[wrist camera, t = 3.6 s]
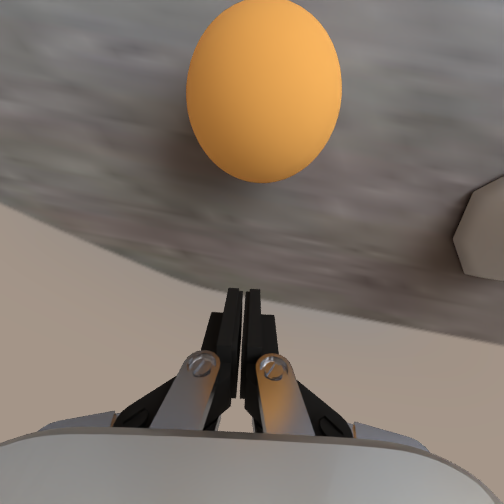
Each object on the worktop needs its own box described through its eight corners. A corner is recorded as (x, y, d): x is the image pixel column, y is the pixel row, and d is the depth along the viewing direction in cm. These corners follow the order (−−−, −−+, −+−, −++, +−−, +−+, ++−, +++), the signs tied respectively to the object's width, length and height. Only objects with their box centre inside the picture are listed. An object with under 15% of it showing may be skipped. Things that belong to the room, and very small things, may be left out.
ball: (329, 46, 11) (398, -60, 5) (311, 178, 13) (347, 197, 8) (203, 41, 11) (146, -69, 6) (207, 173, 13) (170, 188, 8)
